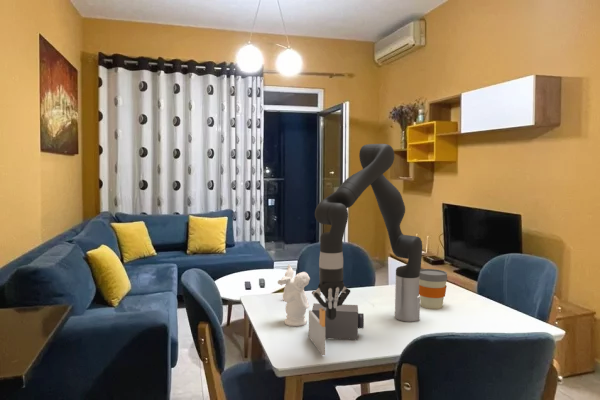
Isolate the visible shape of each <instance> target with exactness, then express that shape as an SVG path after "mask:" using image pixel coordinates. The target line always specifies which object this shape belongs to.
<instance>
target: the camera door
mask: <svg viewBox="0 0 600 400" xmlns="http://www.w3.org/2000/svg"><path fill="white" fill-rule="evenodd" d="M308 311H309V312H308V337H309V339H310V340H311V342H312V344H314V346H315V347H316V349H317V350H318V351H319V353H320V355H321V356H326V339H325V310H324V309H323V308H319V319H318V318H317V316H316V315H315V314H314V313H313V312H312V310H308Z"/></svg>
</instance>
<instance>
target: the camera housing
mask: <svg viewBox="0 0 600 400" xmlns="http://www.w3.org/2000/svg"><path fill="white" fill-rule="evenodd" d="M319 308H323V309H324V310H325V340H346V341H347V340H348V341H358V340H359V339H358V338H359V336H358V335H359V329H360V330H361V329H362V330H363V329H364V327H365V326H364V324H365V322H364V317H365V315H364V313H359V305H358V304H344V303H343V304H342V305H341V306H337V308H336V318H335V319H334V320H329V319H328V318H327V316H326V307H323V306H322V305H321V304H320V303H313V304H312V309H311V311H312V312H313V313H314V314H315V315H316V316H317V318H318V319H319Z"/></svg>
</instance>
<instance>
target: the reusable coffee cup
mask: <svg viewBox="0 0 600 400" xmlns="http://www.w3.org/2000/svg"><path fill="white" fill-rule="evenodd" d="M447 281H448V272H447V271H445V270H442V269H436V268H435V269H434V268H423V269H422V268H421V269H420V278H419V296H420V307H422V308H425V309H428V310H429V309H430V310H439V309H442V308H443V303H444V297H446V291H447Z"/></svg>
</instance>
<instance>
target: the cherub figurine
mask: <svg viewBox="0 0 600 400" xmlns="http://www.w3.org/2000/svg"><path fill="white" fill-rule="evenodd" d="M310 280H311V277H310V276H309V274H308V273H307V272H306V271H302V272H299V273H296V275H295V276H294V269H293V268H292V266H291V265H290V264H289V263H288V264H287V267H286V271H285V273H284V276H283V277H282V278H280V279H278V281H277V284H278V285H280V286H283V285H285V286H284V287H283V293H282V300H283V301H284V302H285V312H286V315H285V316H286V318H285V319H284V324H285V325H286V326H288V327H302V326H304V325H305V326H306V325H307V323H308V320H307V319H306V315H305V314H306V311H307V309H308V308H309V307H310V305H309V302H308V298H307V294H306V292H305V287H306V286H307V287H308V285H309V283H310Z"/></svg>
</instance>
